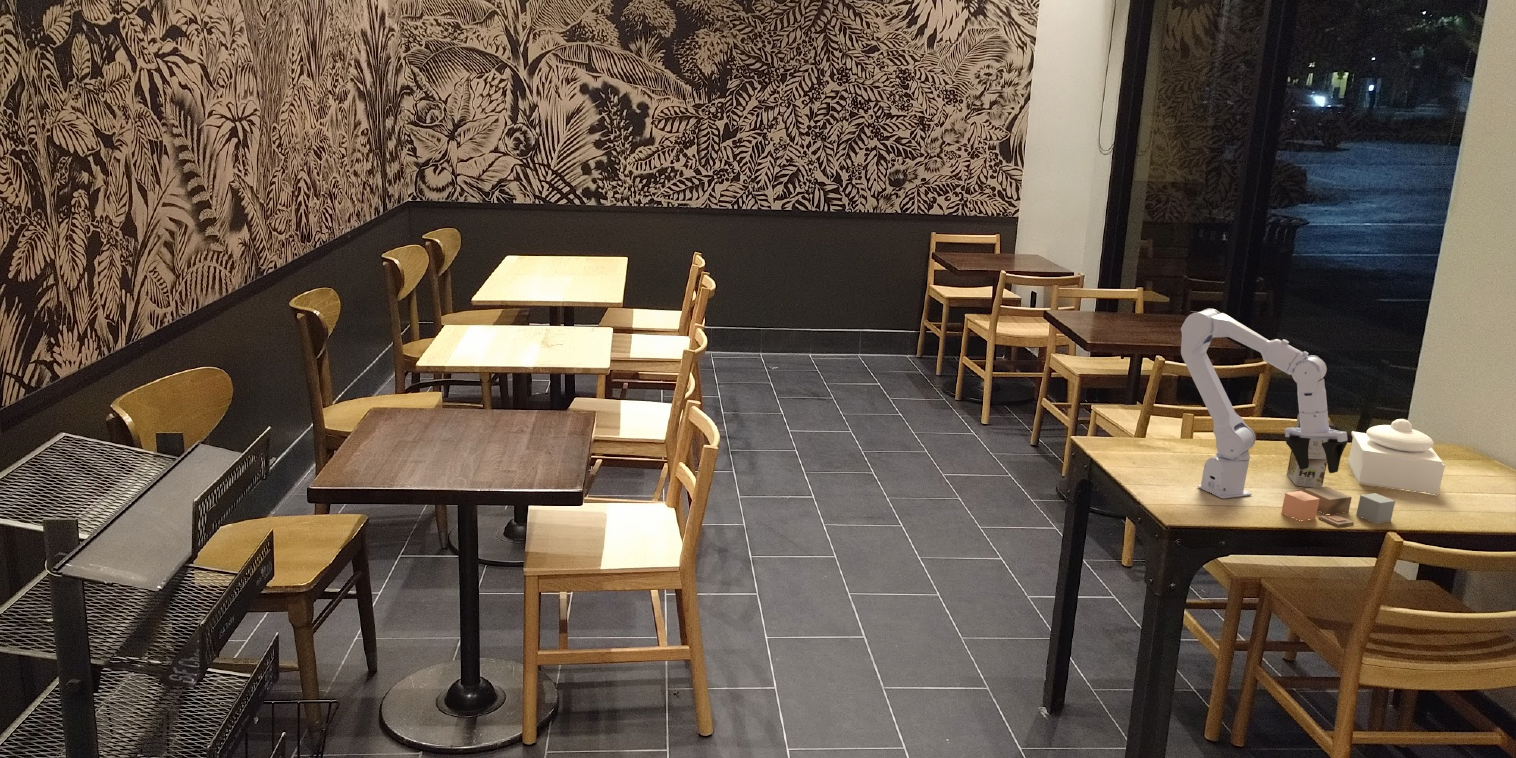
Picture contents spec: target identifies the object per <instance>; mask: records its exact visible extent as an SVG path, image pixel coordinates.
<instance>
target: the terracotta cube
mask: <svg viewBox="0 0 1516 758" xmlns="http://www.w3.org/2000/svg"><path fill="white" fill-rule="evenodd" d="M1319 500H1320V499H1319V498H1317V497H1314V496H1312V495H1310V494H1307V493H1305V492H1304V491H1303V490H1299V491H1297V490H1296V491H1289V492H1285V493H1284V498H1283V503H1282V506H1281V507H1282V508H1281V514H1282V515H1284V514H1286V515H1288V516H1289V517H1288V516H1287V517H1288V518H1291V517H1294V518H1295V519H1297V520H1300V522H1302V521H1301V520H1307V521H1309V520H1308V519H1314V520H1316V519H1317V514H1318V513H1317V512H1318V511H1317V509H1318V505H1319ZM1286 515H1285V516H1286ZM1315 518H1316V519H1315ZM1295 519H1294V520H1295ZM1297 520H1296V521H1297Z"/></svg>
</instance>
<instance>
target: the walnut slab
mask: <svg viewBox="0 0 1516 758" xmlns="http://www.w3.org/2000/svg"><path fill="white" fill-rule="evenodd" d="M1303 492H1305V493H1307V494H1310V495H1312V496H1314V497H1317V498H1319V499H1320V500H1319V505H1318V509H1317V512H1318V511H1321V512H1322V513H1321V514H1323V513H1324V514H1323V515H1325V514H1336V515H1338V514H1337V513H1340V514H1344V513H1343V512H1348V513H1349V512H1350V506H1351V503H1352V498H1353V496H1352V495H1351V496H1350V495H1348V494H1345V493H1343V492H1341V491H1338V490H1336V489H1333V488H1331V487H1329V486H1322V487H1316V488H1312V487H1307V488H1304V490H1303Z"/></svg>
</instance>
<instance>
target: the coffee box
mask: <svg viewBox="0 0 1516 758" xmlns="http://www.w3.org/2000/svg"><path fill="white" fill-rule="evenodd" d="M1328 421H1329V427H1330V429H1333V430H1336V429H1335V428H1336V425H1335V424H1334V423H1332V421H1331V420H1329V419H1328ZM1295 423H1296V424H1295V428H1301V427H1300V416H1299V413H1298V414H1297V418H1296V422H1295ZM1320 437H1321V436H1320ZM1324 442H1328V440H1322V439H1311V438H1310V441H1309V448H1308V458H1309V466H1308V468H1306V469H1303V470H1301V469H1300V468H1299V466H1298V463H1297V460H1296V458H1295V456H1294V454H1293V452H1292V450H1291V449H1290V455H1289V459H1288V460H1289V461H1288V466H1287V470H1286V475H1287V477H1288V478H1289V479H1290V481H1292V483H1293V484H1294V485H1295V486H1299V487H1304V488H1305V487H1306V488H1316V487H1323V486H1324V485H1323V484H1324V481H1325V474H1326V471H1327V467H1328V465H1327V458H1326V454H1325V451H1324V448H1323V446H1322V443H1324Z"/></svg>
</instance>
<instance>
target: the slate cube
mask: <svg viewBox="0 0 1516 758" xmlns="http://www.w3.org/2000/svg"><path fill="white" fill-rule="evenodd" d="M1395 504H1396V500H1394V499H1392V498H1389V497H1386V496H1384V495H1381V494H1378V493H1376V492H1374V493H1373V492H1372V493H1367V494H1360V496H1359V501H1358V504H1357V505H1358V506H1357V508H1356V509H1357V510H1356V514H1355V516H1356V515H1357V517H1359V518H1361V517H1363V518H1362V519H1363V520H1366V521H1368V520H1369V522H1371V523H1374V524H1381V523H1389V522H1392V517H1393V512H1394V508H1395Z"/></svg>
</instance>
